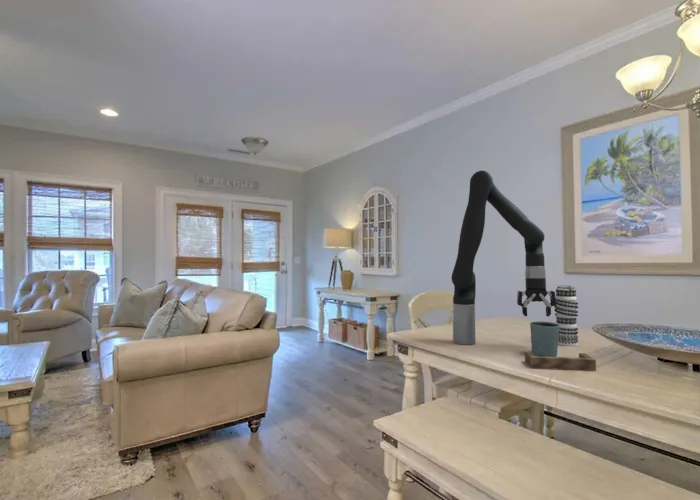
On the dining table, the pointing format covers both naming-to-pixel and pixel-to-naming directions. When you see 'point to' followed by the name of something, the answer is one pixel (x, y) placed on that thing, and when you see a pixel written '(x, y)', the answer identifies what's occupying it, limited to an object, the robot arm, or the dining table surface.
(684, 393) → the dining table surface
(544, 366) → the walnut rail
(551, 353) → the teal cup
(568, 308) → the decorative candle
